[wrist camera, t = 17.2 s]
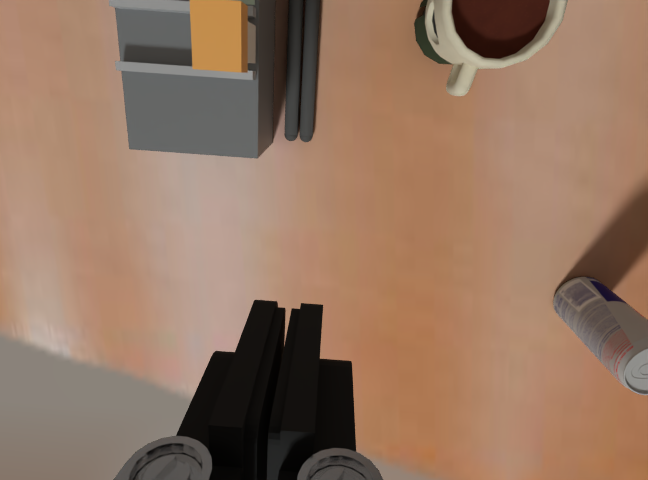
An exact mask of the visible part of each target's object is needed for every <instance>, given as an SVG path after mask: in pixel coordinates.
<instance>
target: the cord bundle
mask: <svg viewBox="0 0 648 480" xmlns="http://www.w3.org/2000/svg"><path fill="white" fill-rule="evenodd" d="M319 12H320V0H306V5H305V28H304V50H303V72H302V95H301V117H300V138H301V140H302V141H304V142H309V141H310V140H311V139H312V137H313V120H314V102H315V84H316V66H317V48H318V30H319ZM302 20H303V0H289V13H288V45H287V76H286V107H285V137H286V139H287V140H289V141H293V140H295V139H296V138H297V135H298V113H299V90H300V67H301V43H302Z"/></svg>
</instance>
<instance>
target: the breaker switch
mask: <svg viewBox="0 0 648 480" xmlns="http://www.w3.org/2000/svg"><path fill="white" fill-rule="evenodd" d="M190 22H191V45H192V68H193V69H198V70H212V71H226V72H240V73H248V63H255V55H256V26H255V25H253V24H252V23H250V22H248V6H247V5H246V4H244V3H243V2H242V1H232V0H190Z"/></svg>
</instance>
